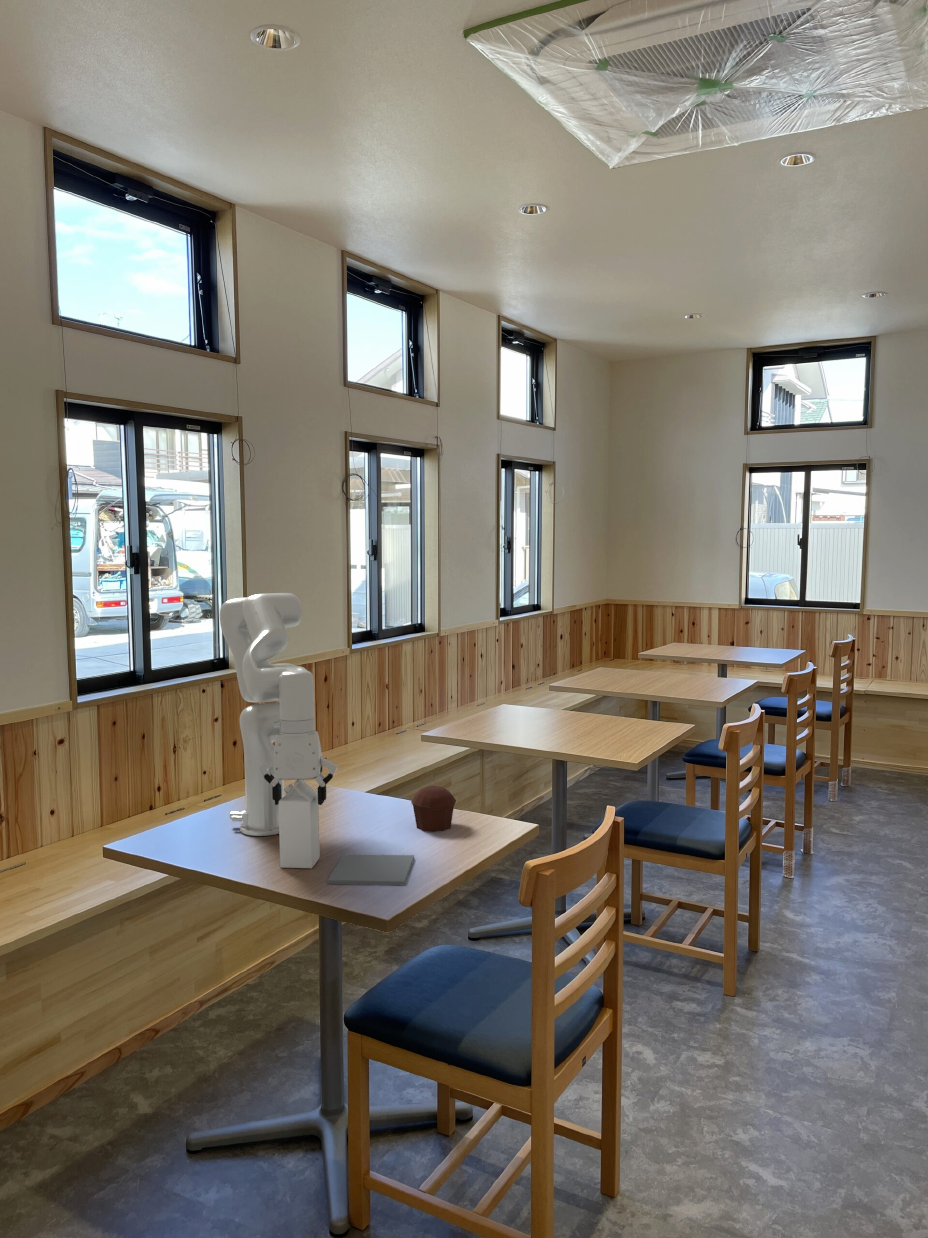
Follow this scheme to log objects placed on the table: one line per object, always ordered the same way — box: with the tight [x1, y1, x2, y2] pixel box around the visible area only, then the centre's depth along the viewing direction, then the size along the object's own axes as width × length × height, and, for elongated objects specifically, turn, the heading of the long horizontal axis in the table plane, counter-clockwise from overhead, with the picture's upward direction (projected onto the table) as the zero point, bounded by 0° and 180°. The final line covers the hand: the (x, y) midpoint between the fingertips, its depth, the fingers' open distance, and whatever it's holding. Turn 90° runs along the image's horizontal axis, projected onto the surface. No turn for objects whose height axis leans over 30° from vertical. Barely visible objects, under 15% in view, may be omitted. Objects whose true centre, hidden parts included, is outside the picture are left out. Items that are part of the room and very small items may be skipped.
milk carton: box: [278, 780, 321, 869], centre depth 197 cm, size 7×7×19 cm
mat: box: [327, 853, 415, 886], centre depth 192 cm, size 16×16×1 cm
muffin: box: [410, 785, 457, 833], centre depth 223 cm, size 12×11×10 cm
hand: (299, 803), depth 196 cm, fingers open, 9 cm apart
